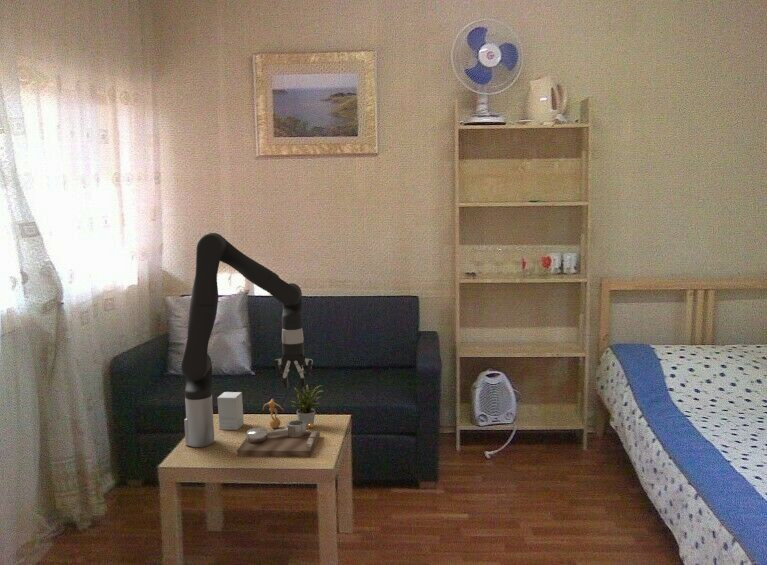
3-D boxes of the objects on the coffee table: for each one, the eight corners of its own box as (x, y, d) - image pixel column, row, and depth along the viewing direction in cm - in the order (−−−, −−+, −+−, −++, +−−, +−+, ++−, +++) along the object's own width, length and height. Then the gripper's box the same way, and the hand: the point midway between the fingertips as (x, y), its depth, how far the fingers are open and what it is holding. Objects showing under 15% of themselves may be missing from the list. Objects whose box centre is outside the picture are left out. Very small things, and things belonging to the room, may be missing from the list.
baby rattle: (248, 444, 245) (248, 433, 244) (245, 437, 251) (245, 426, 251) (315, 434, 253) (315, 423, 252) (310, 428, 260) (310, 417, 259)
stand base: (237, 455, 241) (236, 446, 240) (252, 435, 259) (251, 427, 259) (310, 456, 239) (309, 447, 238) (319, 436, 257) (319, 427, 257)
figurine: (287, 426, 268) (286, 396, 267) (282, 432, 263) (281, 400, 261) (266, 425, 270) (265, 395, 268) (261, 431, 264) (259, 400, 262)
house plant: (334, 421, 273) (332, 380, 271) (321, 434, 260) (320, 391, 257) (299, 419, 277) (298, 378, 274) (285, 431, 264) (283, 388, 261)
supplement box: (244, 423, 273) (242, 391, 271) (237, 430, 266) (235, 397, 264) (226, 423, 274) (224, 391, 272) (218, 429, 267) (216, 397, 265)
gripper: (270, 343, 246) (272, 390, 249) (310, 343, 245) (312, 390, 247) (275, 338, 254) (277, 384, 256) (314, 338, 252) (316, 384, 255)
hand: (294, 387), depth 252 cm, fingers open, 5 cm apart
